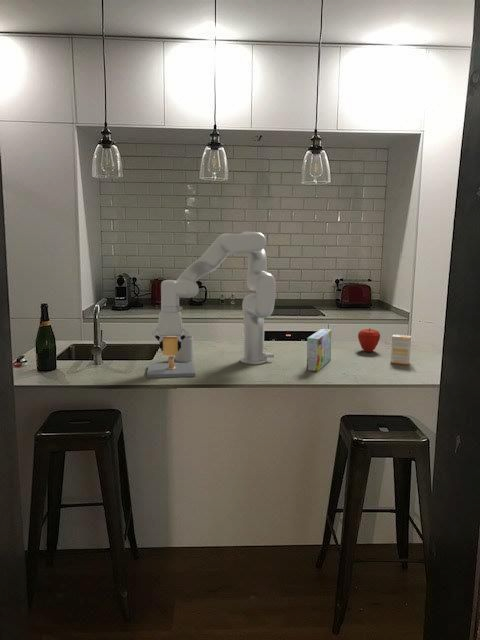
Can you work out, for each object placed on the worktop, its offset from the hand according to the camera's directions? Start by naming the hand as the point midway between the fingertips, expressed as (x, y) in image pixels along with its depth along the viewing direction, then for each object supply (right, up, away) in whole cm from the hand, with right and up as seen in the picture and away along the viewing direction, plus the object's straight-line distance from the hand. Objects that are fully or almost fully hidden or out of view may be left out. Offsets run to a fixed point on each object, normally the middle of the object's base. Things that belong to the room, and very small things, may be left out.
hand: (170, 349), depth 215 cm
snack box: (+66, -8, +14) cm, 68 cm away
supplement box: (+105, -7, +19) cm, 107 cm away
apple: (+95, -3, +39) cm, 103 cm away
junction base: (0, -9, +2) cm, 10 cm away
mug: (+4, -6, +22) cm, 23 cm away
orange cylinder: (0, -2, 0) cm, 2 cm away
